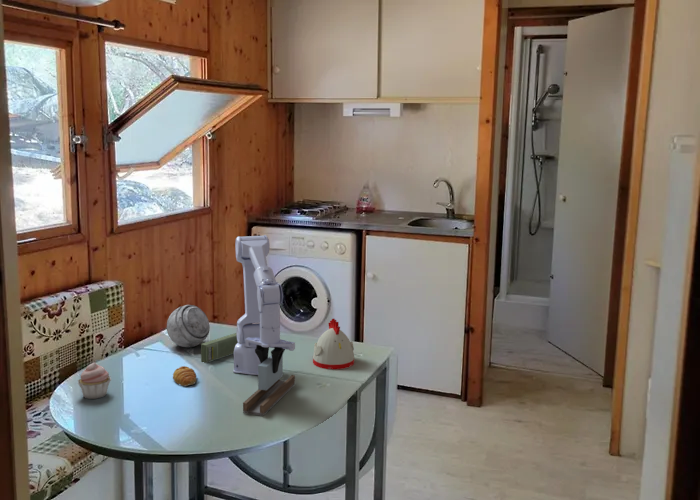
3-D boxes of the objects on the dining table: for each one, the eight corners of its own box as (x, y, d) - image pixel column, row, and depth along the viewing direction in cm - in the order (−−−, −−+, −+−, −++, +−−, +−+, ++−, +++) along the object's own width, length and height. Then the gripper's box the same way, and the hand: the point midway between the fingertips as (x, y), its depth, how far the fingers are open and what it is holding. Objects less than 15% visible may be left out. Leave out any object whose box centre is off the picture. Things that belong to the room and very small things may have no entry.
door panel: (258, 389, 192) (258, 365, 191) (274, 374, 203) (274, 352, 202) (266, 390, 191) (266, 366, 190) (282, 375, 202) (282, 353, 201)
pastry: (201, 385, 207) (200, 373, 207) (179, 389, 204) (178, 377, 203) (192, 375, 215) (191, 363, 215) (170, 379, 212) (170, 367, 211)
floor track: (243, 413, 187) (243, 402, 187) (276, 382, 210) (276, 373, 209) (263, 416, 186) (263, 405, 185) (295, 384, 208) (295, 375, 208)
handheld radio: (199, 361, 228) (253, 343, 247) (206, 364, 226) (259, 346, 245) (199, 343, 226) (253, 326, 246) (206, 345, 224) (260, 328, 244)
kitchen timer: (321, 371, 220) (322, 327, 217) (307, 358, 232) (307, 315, 229) (360, 366, 225) (361, 322, 222) (344, 353, 238) (345, 312, 235)
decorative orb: (191, 355, 233) (190, 313, 230) (158, 349, 239) (156, 307, 236) (217, 343, 246) (216, 303, 243) (185, 337, 252) (184, 298, 249)
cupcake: (109, 400, 194) (107, 367, 192) (75, 402, 193) (72, 368, 191) (115, 388, 203) (113, 356, 202) (82, 389, 202) (80, 357, 200)
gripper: (240, 327, 192) (241, 373, 194) (288, 332, 188) (288, 379, 190) (251, 320, 199) (251, 365, 201) (297, 325, 195) (297, 370, 197)
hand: (270, 371), depth 196 cm, fingers closed on door panel, 2 cm apart
